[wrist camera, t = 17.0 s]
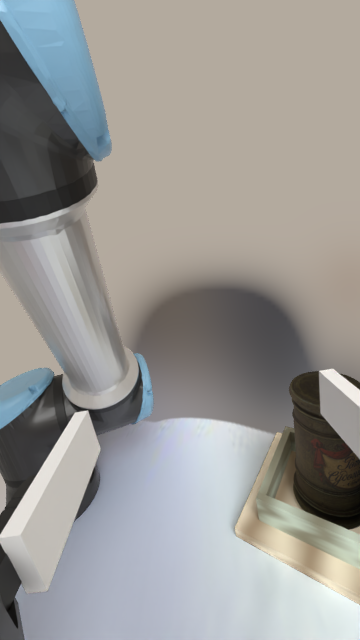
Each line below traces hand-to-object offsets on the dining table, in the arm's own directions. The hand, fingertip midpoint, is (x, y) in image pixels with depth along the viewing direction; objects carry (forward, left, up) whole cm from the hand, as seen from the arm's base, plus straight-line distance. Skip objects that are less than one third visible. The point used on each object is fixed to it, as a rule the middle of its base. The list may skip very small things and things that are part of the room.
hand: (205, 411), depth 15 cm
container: (+3, +21, -29) cm, 36 cm away
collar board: (+3, +21, -30) cm, 37 cm away
